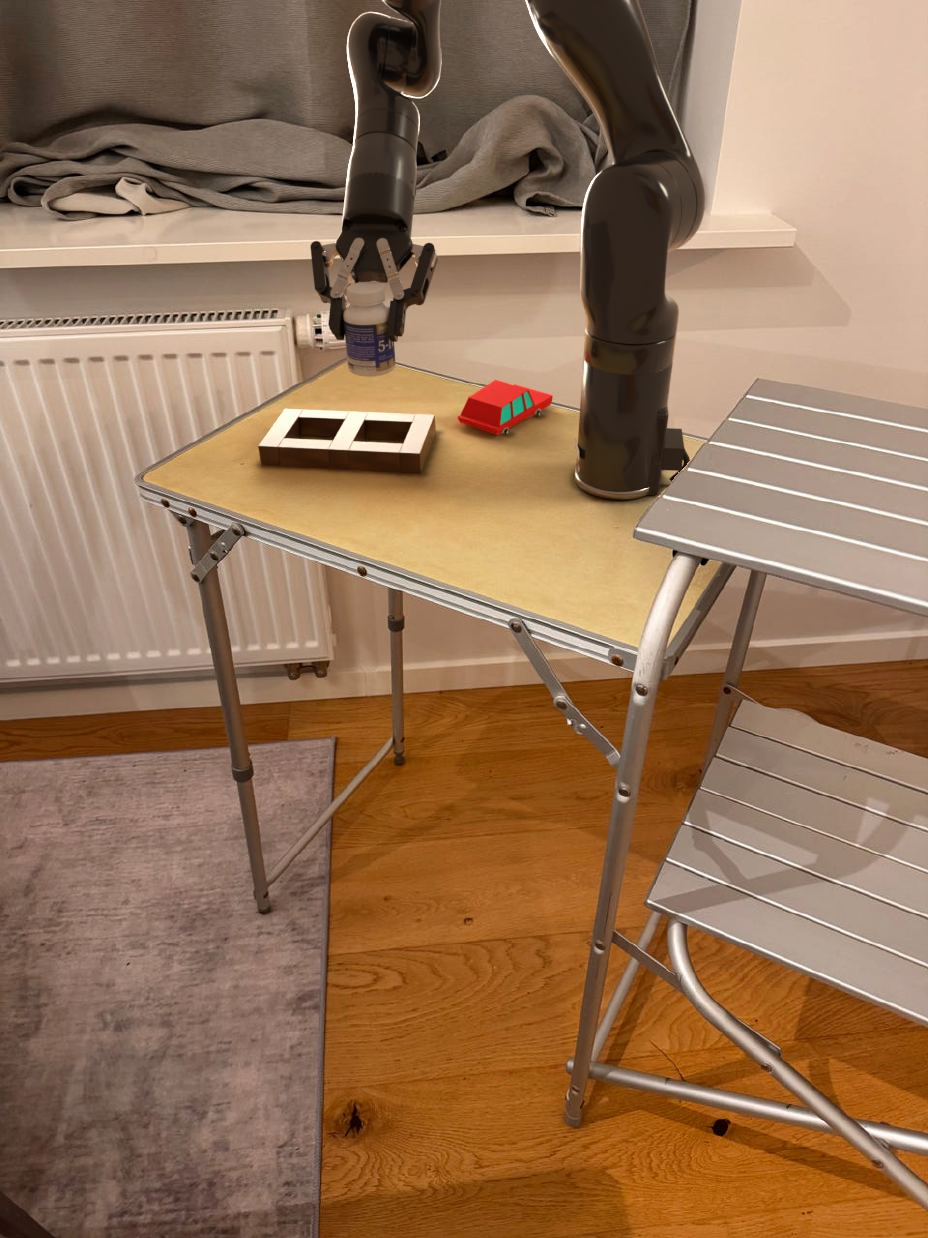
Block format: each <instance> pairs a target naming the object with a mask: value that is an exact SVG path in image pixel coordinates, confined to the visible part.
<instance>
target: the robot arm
mask: <svg viewBox="0 0 928 1238" xmlns="http://www.w3.org/2000/svg"><path fill="white" fill-rule="evenodd" d="M382 2H383V3H384V4H385V5H386V6H387V7H389V8H390V9H391V10H393V11H394V12H396V13H398V14H400V15H401V16H403V17H404V18H406V19H407V20H405V19H400V18H397V17H393V16H389V15H386V14H383V13H380V12H373V11H368V12H367V11H366V12H364V13H362V14H360V15H359V16H358V17H357V18H356V19H355V20H354V21H353V22H352V24H351V27H350V29H349V32H348V35H347V41H346V42H347V44H346V54H347V62H348V70H349V74H350V75H349V76H350V80H351V84H352V88H353V95H354V102H355V122H354V131H353V142H352V149H351V154H350V157H349V162H348V167H347V176H346V183H345V194H344V202H343V211H342V219H341V220H342V221H341V231H340V233H339V236H338V237H337V238H336V240H335V242H333V243H327V244H322V243H321V241H319V240H314V241H312V242H311V244H310V255H311V256H310V257H311V265H312V275H313V284H314V285H313V286H314V290H315V292H316V294H317V296H318V297H319V299H320V301H321V302H322V303H323V304H330V306H329V315H328V328H329V330H330V332H331V334H332V335H334V337H335V339H336V340H337V341H344V340H345V332H344V322H343V313H344V311H345V309H346V308H347V305H348V304H349V303H348V299H347V287H348V286H349V285H351V284H354V283H359V282H377V283H381V284H384V283H385V284H389V287H390V291H391V293H392V296H393V297H392V300H390V301H389V308H390V310H389V320H388V330H387V333H388V337H389V339H390V342H394V343H397V342H398V340H399V337H403V335H404V333H405V326H406V317H407V310H408V309H409V307H411V306H413V305H416V306H422V305H424V304H425V302H426V298H427V296H428V292H429V289H430V285H431V282H432V280H433V277H434V274H435V270H436V267H437V264H438V255H437V251H436V248H435V245H434V244H433V243H432V242H426V243H425V244H424V245H420V244H415V243H414V242H413V240H412V229H413V220H414V219H413V218H414V210H415V198H416V196H417V189H418V187H417V176H418V175H417V173H418V172H417V170H418V169H417V153H418V142H419V134H420V113H419V110H418V107H417V106H416V105H415V103H414V102H413V100H411V99H410V98H413V99H422V98H424V97H427V96H428V95H429V94H430V93H431V92H433V90H434V89H435V88H436V86H437V85H438V82H439V80H440V77H441V71H442V42H441V8H442V2H443V1H442V0H382ZM525 3H526V7H527V9H528V12H529V16H530V18H531V21H532V23H533V26H534V28H535V30H536V32H537V34H538V36H539V38H540V40H541V42H542V43H543V45H544V46H545V48H546V49H547V50H548V52H549V54H550V55H551V57H552V58H553V59H554V61H555V62H556V63H557V65H558V67H560V69H561V70H562V72H563V73H564V74H565V75H566V76H567V78H568V79H569V80H570V82H571V83H572V84H573V85H574V87H575V88H576V89H577V91H578V92H579V93H580V95H581V96H582V97H583V99H584V100H585V102H586V103H587V105H588V106H589V108H590V109H591V111H592V113H593V115H594V117H595V119H596V121H597V123H598V126H599V128H600V130H601V133H602V136H603V139H604V142H605V144H606V147H607V151H608V154H609V158H610V161H611V163H610V164H609V165H606V166H605V167H604V168H602V169H601V170H600V171H599V172H598V173H597V174H596V175H595V176H594V178H593V179H592V180H591V182H590V184H589V186H588V188H587V190H586V193H585V196H584V200H583V204H582V210H581V215H580V217H581V218H580V233H579V296H580V301H581V305H582V307H583V310H584V314H585V326H584V329H585V330H584V343H583V344H584V345H583V356H582V357H583V359H582V360H583V361H582V374H581V389H580V402H579V417H578V418H579V419H578V421H579V422H578V431H577V432H578V433H577V438H576V437H574V449H575V453H576V458H575V459H576V460H575V469H574V482H575V483H576V485H577V486H578V488H580V489H581V490H582V491H584V492H585V493H588V494H590V495H593V496H595V497H599V498H603V499H608V500H634V499H639V498H643V497H646V496H650V495H653V496H654V495H655V496H658V495H659V493H660V485H661V478H662V471H671V472H672V471H673V472H675V473H674V474H673V475H672V476H671V477H669V481H670V482H671V481H672V480H673V479H674V477H675V476H676V475H677V474H678V472H680V471H681V470H682V469H683V468H684V467H685V466H686V465H687V463H688V462H689V461H690V462H691V459H690V456H689V454H688V452H687V451H686V448H685V442H684V435H683V429H682V428H676V427H674V428H671V427H668V424H669V415H670V414H669V406H668V403H669V396H670V389H671V381H672V380H671V379H672V372H673V365H674V357H675V356H674V355H675V347H676V341H677V340H676V339H677V332H678V324H679V316H680V315H679V314H680V307H679V304H678V303H677V301H676V300H675V299H674V298H673V297H672V296H671V295H668V294H666V277H667V263H668V254H669V253H672V252H673V251H675V250H677V249H680V248H681V247H683V246H684V245H686V244H687V243H688V242H690V240H692V238H693V237H694V236H695V235H696V233H697V232H698V230H699V229H700V227H701V225H702V222H703V219H704V215H705V209H706V192H705V191H706V190H705V186H704V185H705V184H704V180H703V176H702V174H701V171H700V169H699V166H698V163H697V161H696V158H695V156H694V153H693V151H692V148H691V146H690V144H689V141H688V139H687V136H686V135H685V132H684V129H683V127H682V124H681V123H680V120H679V118H678V115H677V113H676V111H675V107H674V106H673V104H672V101H671V98H670V95H669V93H668V91H667V88H666V85H665V83H664V80H663V76H662V73H661V70H660V68H659V64H658V61H657V58H656V53H655V50H654V46H653V43H652V40H651V36H650V34H649V29H648V26H647V24H646V21H645V17H644V15H643V11H642V8H641V4H640V2H639V0H525ZM337 256H338V257H339V258H340V259H341V261H342V264H341V266H340V268H339V270H338V273H337V278H336V280H335V282H334V284H333V286H331V282H330V281H331V280H330V279H331V278H330V270H329V268H332V266H333V264H334V259H335V257H337ZM412 258H414V263H415V266H416V269H415V272H414V274H413V278H412V280H411V284H410V287H408V288H405V289H404V286H403V283H402V280H401V276H400V275H399V273H400V272H401V271H402V269H403V268H404V267H405V266H406V265H407V264H408V263H409V262H410V260H411V259H412Z"/></svg>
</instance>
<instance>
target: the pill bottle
mask: <svg viewBox="0 0 928 1238" xmlns="http://www.w3.org/2000/svg"><path fill="white" fill-rule="evenodd" d="M385 289H386V288H385V285H384V283H380V282H377V281H371V282H359V283H354V284H351V285H349V286H348V287H347V299H348V303H347V304H349V305H348V306H346V309H345V311H344V313H343V322H344V332H345V337H344V340H345V350H346V351H345V352H346V360H347V362H346V363H347V367H348V371H349V372H350V373H352V374H353V375H355V376H358V377H359V376H360V377H370V378H372V377H379V376H384V375H387V374H389V373H391V372H393V371H394V370H395V368H396V352H395V351H396V350H395V349H396V348H395V342H390V339H389V337H388V333H387V330H388V320H389V310H390V306H388V305H387V304H385V301H386V290H385Z"/></svg>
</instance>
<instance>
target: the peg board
mask: <svg viewBox="0 0 928 1238" xmlns="http://www.w3.org/2000/svg"><path fill="white" fill-rule="evenodd" d="M436 432H437V431H436V415H435V414H427V413H424V414H423V413H403V412H402V413H398V412H379V411H378V412H374V411H351V410H350V411H349V410H348V411H347V410H326V409H304V408H303V409H301V408H284V409H283V410H282V412H281V414H280V415H279V416H278V418H277V419H276V420H275V422H274V423H273V425H272V426H271V428H270V429H269V431H268V432H267V433H266V434H265V436H264V437H263V438H262V440H261V442H260V443H259V444H258V445H257V449H258V454H259V459H260V465H261V466H270V467H271V466H272V467H287V468H289V467H290V468H291V467H292V468H309V469H310V468H312V469H329V470H330V469H332V470H352V471H373V472H390V473H391V472H393V473H411V474H412V473H413V474H421V473H422V471H423V468H424V466H425V463H426V460H427V458H428V455H429V453H430V449H431V447H432V444H433V441H434V439H435V435H436ZM301 436H302V437H303V436H304V437H305V436H306V437H326V438H329V437H330V438H334V439H332V440H331V439H311V438H310V439H309V438H300V437H301ZM366 439H367V440H391V441H403V443H401V442H400V443H398V442H396V443H395V442H376V441H366Z"/></svg>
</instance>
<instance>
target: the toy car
mask: <svg viewBox="0 0 928 1238" xmlns="http://www.w3.org/2000/svg"><path fill="white" fill-rule="evenodd" d="M553 396H554V395H553V394H550V393H547V392H543V391H539V390H536V389H533V388H529V387H526V386H522V385H519V384H511V383H508V382H504V381H502V380H497V379H494V380H493V381H491V382H490V383H487V385H485V386H483V387H482V388H481V389H479V390H477V391H476V392H474V393H473V394H471V395H470V396H468V398H467V400H466V402H465V404H464V406H463V409H462V411H461V412H460V415H458V416H457V419H458V422H459V423H460V424H462V425H465V426H468V427H472V428H475V429H478V430H481V431H483V432H487V433H489V434H493V435H495V436H499V435H500V434H504V435H505V436H506V435H508V434H509V432H510V428H512V427H514V426H516V425H517V424H520V423H522V422H523V421H525V420H527V419H528V418H531V417H532V416H534V415H535V416H537V417H540V416H541V414H542V411H543V410H544V409H546V408H548V407H550V406H551V404H552V402H553Z"/></svg>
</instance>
